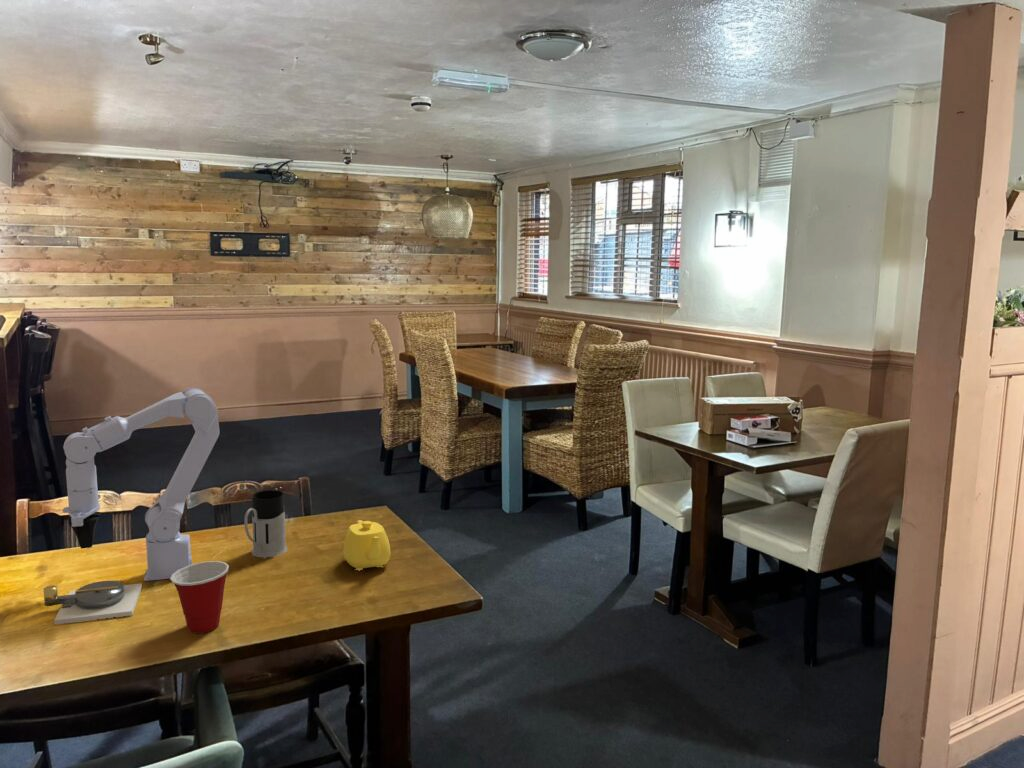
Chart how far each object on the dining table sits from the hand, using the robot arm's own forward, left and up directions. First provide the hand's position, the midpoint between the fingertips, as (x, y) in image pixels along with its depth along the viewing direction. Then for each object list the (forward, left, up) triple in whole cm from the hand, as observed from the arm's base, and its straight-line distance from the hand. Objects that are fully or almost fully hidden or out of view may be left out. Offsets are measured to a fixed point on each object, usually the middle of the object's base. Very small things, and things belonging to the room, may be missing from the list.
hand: (86, 547), depth 164 cm
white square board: (-4, +11, -9) cm, 15 cm away
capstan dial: (-1, +10, -8) cm, 13 cm away
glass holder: (-37, -8, -10) cm, 39 cm away
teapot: (-61, +5, -10) cm, 62 cm away
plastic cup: (-25, +27, -10) cm, 38 cm away
